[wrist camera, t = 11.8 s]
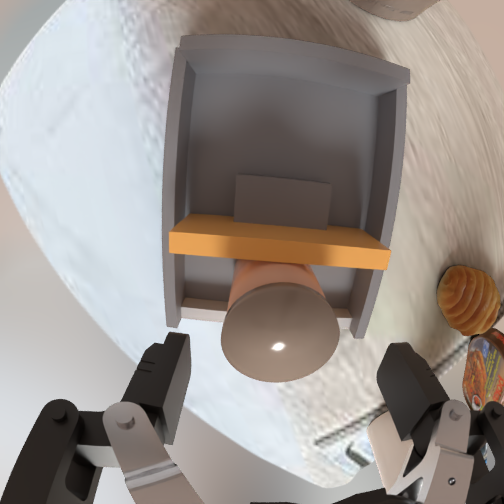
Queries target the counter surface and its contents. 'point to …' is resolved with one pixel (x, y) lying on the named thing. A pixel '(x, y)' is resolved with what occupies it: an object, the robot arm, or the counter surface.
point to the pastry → (468, 299)
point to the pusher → (279, 228)
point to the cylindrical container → (387, 448)
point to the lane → (280, 153)
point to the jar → (277, 321)
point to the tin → (484, 370)
